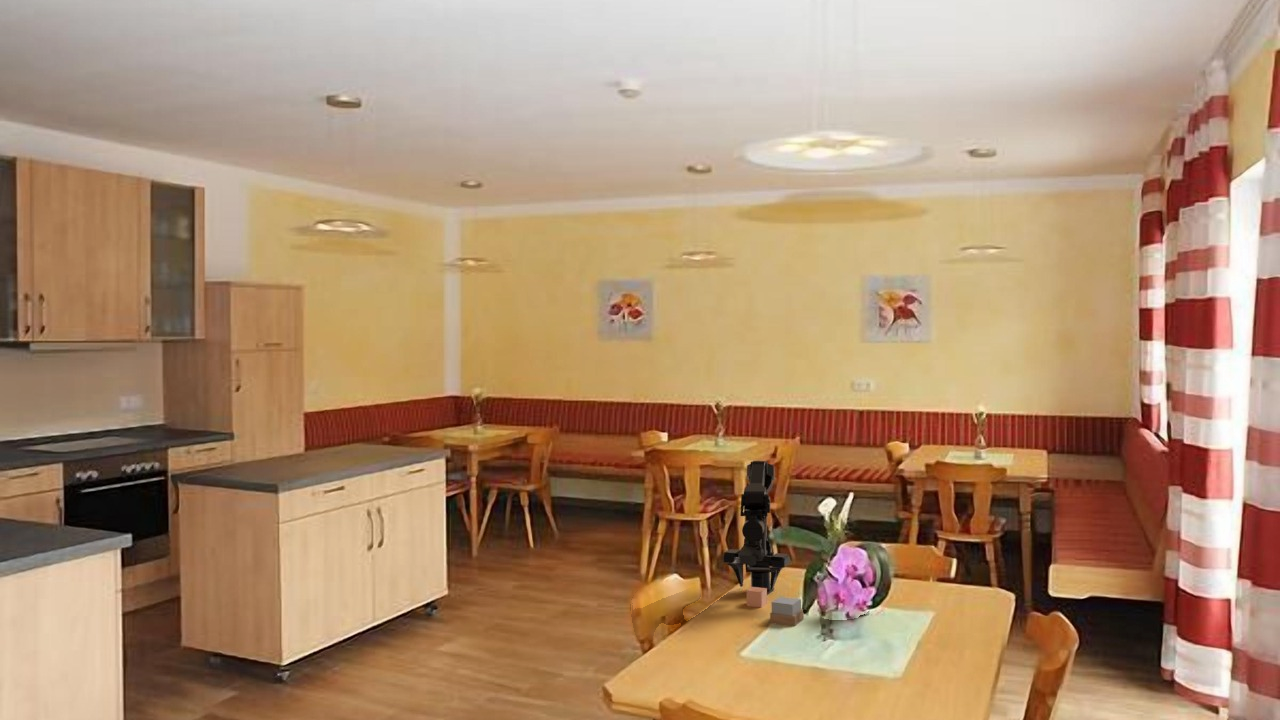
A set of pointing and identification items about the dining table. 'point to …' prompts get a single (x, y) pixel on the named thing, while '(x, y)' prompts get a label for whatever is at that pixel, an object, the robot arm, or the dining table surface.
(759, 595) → the terracotta cube
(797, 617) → the walnut block
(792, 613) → the slate block
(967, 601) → the dining table surface
